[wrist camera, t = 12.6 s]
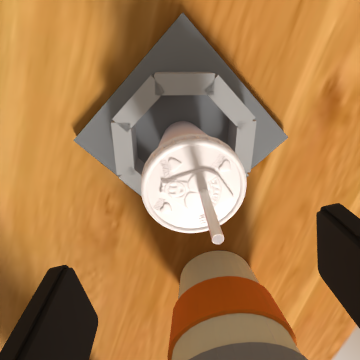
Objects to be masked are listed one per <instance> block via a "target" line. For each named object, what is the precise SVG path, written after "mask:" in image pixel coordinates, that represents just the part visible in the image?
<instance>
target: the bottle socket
mask: <svg viewBox="0 0 360 360" xmlns="http://www.w3.org/2000/svg"><path fill="white" fill-rule="evenodd" d="M178 121H187V122H190V123H192V124H194V125H195V126H197V127H198V128H199V129H200V130H202V131H203V132H204V133H205V134H207V135H208V136H211V137H215V138H218V139H219V140H221V141H222V142H224V143H225V144H227V145H229V146H230V148H231V149H232V150H233V151H234V152H235V153H236V154H237V156H238V158H239V160H240V162H241V164H242V165H243V168H244V170H245V174H246V177H248V176H249V175H248V173H247V172H251V169H252V168H253V167H254V166H256V165H257V164H258V163H259V162H260V161H261V160H263V159H264V158H265V157H266V156H267V155H268V154H269V153H271V152H272V151H273V150H274V149H275V148H276V147H278V146H279V145H280V144H281V143H282V142H283V141H285V140H286V139H287V138H288V136H287V135H286V134H285V133H284V132H283V130H282V129H281V128H280V127H279V126H278V125H277V123H276V122H275V121H274V120H273V119H272V117H271V116H270V115H269V114H268V113H267V112H266V110H265V109H264V108H263V107H262V106H261V104H260V103H259V102H258V101H257V100H256V99H255V97H254V96H253V95H252V94H251V93H250V91H249V90H248V89H247V88H246V87H245V86H244V84H243V83H242V82H241V81H240V80H239V78H238V77H237V76H236V75H235V74H234V72H233V71H232V70H231V69H230V68H229V67H228V65H227V64H226V63H225V62H224V61H223V59H222V58H221V57H220V56H219V55H218V54H217V52H216V51H215V50H214V49H213V48H212V46H211V45H210V44H209V43H208V42H207V41H206V39H205V38H204V37H203V36H202V35H201V33H200V32H199V31H198V30H197V29H196V27H195V26H194V25H193V24H192V23H191V22H190V20H189V19H188V18H187V17H186V16H185V14H184V13H182V14H181V15H180V16H179V17H178V18H177V20H176V21H175V22H174V23H173V24H172V25H171V27H170V28H169V29H168V30H167V31H166V33H165V34H164V35H163V36H162V37H161V38H160V40H159V41H158V42H157V43H156V44H155V45H154V47H153V48H152V49H151V50H150V51H149V52H148V54H147V55H146V56H145V57H144V58H143V59H142V61H141V62H140V63H139V64H138V65H137V67H136V68H135V69H134V70H133V71H132V72H131V74H130V75H129V76H128V77H127V78H126V79H125V81H124V82H123V83H122V84H121V85H120V86H119V88H118V89H117V90H116V91H115V92H114V93H113V95H112V96H111V97H110V98H109V99H108V101H107V102H106V103H105V104H104V105H103V106H102V108H101V109H100V110H99V111H98V112H97V113H96V115H95V116H94V117H93V118H92V119H91V120H90V122H89V123H88V124H87V125H86V126H85V128H84V129H83V130H82V131H81V132H80V133H79V135H78V136H77V137H76V138H75V139H74V141H75V142H76V143H77V144H79V145H80V146H81V147H82V148H84V149H85V150H86V151H87V152H88V153H90V154H91V155H92V156H93V157H95V158H96V159H97V160H98V161H100V162H101V163H102V164H103V165H105V166H106V167H107V168H108V169H110V170H111V171H112V172H113V173H114V174H116V175H117V176H118V177H119V179H120V180H122V181H123V182H124V183H125V184H127V185H128V186H129V187H130V188H132V189H133V190H134V191H135V192H137V193H138V194H139V195H140V196H142V195H141V175H142V171H143V168H144V165H145V163H146V161H147V160H148V158H149V157H150V155H151V153H153V152H154V151H155V150H156V149H157V148H158V146H159V143H160V141H161V139H162V136H163V134H164V132H165V130H166V129H167V128H168V127H169V126H170V125H171V124H173V123H175V122H178Z"/></svg>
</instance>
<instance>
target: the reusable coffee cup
mask: <svg viewBox="0 0 360 360" xmlns="http://www.w3.org/2000/svg"><path fill="white" fill-rule="evenodd" d="M168 360H308V359H307V358H306V357H305V356H303V355H302V354H301V353H300V351H299V350H298V348H297V343H296V337H295V335H294V333H293V331H292V329H291V327H290V325H289V324H288V322H287V321H286V319H285V317H284V316H283V314H282V312H281V311H280V309H279V308H278V306H277V304H276V303H275V301H274V299H273V298H272V296H271V294H270V293H269V292H268V291H267V290H266V288H265V287H263V286H262V285H260V284H259V282H258V280H257V279H256V277H255V275H254V274H253V272H252V270H251V268H250V267H249V265H248V263H247V262H246V261H245V260H244V259H243V258H242V257H240V256H239V255H237V254H235V253H232V252H228V251H210V252H206V253H203V254H200V255H198V256H196V257H195V258H193V259H192V260H190V261H189V262H188V263H187V264H186V266H185V267H184V269H183V271H182V273H181V278H180V286H179V296H178V301H177V302H176V304H175V307H174V309H173V316H172V325H171V333H170V341H169V350H168Z"/></svg>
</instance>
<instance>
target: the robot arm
mask: <svg viewBox="0 0 360 360" xmlns="http://www.w3.org/2000/svg"><path fill="white" fill-rule="evenodd" d="M317 253H318V270H319V273H320V275H321V277H322V279H323V280H324V281H325V283H326V284H327V285H328V287H329V288H330V289H331V291H332V292H333V293H334V295H335V296H336V297H337V299H338V300H339V301H340V303H341V304H342V305H343V307H344V308H345V310H346V311H347V312H348V314H349V315H350V316H351V318H352V319H353V320H354V322H355V323H356V324H357V326H358V327H359V328H360V219H359V218H358V217H357V216H355V215H354V214H353V213H352V212H350V211H349V210H348V209H346V208H345V207H344V206H343V205H341V204H339V203H336V204H332V205H328V206H323V207H321V209H320V211H319V212H317ZM97 327H98V317H97V314H96V312H95V310H94V308H93V306H92V304H91V302H90V300H89V299H88V297H87V295H86V293H85V291H84V289H83V287H82V285H81V283H80V281H79V279H78V277H77V275H76V273H75V271H74V270H73V268H69V267H68V266H67V265H62V266H58V267H53V268H50V269H49V270H48V271H47V273H46V275H45V276H44V278H43V280H42V282H41V283H40V285H39V287H38V288H37V290H36V292H35V294H34V295H33V297H32V299H31V300H30V302H29V304H28V306H27V307H26V309H25V311H24V312H23V314H22V316H21V318H20V319H19V321H18V323H17V325H16V326H15V328H14V330H13V331H12V333H11V335H10V337H9V338H8V340H7V342H6V343H5V345H4V347H3V349H2V350H1V352H0V360H89V357H90V353H91V350H92V346H93V342H94V338H95V334H96V331H97Z"/></svg>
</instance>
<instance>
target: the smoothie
mask: <svg viewBox="0 0 360 360" xmlns="http://www.w3.org/2000/svg"><path fill="white" fill-rule="evenodd" d="M246 186H247V181H246V174H245V170H244V168H243V165H242V164H241V162H240V160H239V158H238V156H237V154H236V153H235V152H234V151H233V150H232V149H231V148H230V146H229V145H227V144H225V143H224V142H222V141H221V140H219V139H218V138H215V137H211V136H208V135H207V134H205V133H204V132H203V131H202V130H200V129H199V128H198V127H197V126H195V125H194V124H192V123H190V122H187V121H178V122H175V123H173V124H171V125H170V126H169V127H168V128H167V129H166V130H165V132H164V134H163V136H162V139H161V141H160V143H159V146H158V148H157V149H156V150H155V151H154V152H153V153H151V155H150V157H149V158H148V160H147V161H146V163H145V165H144V168H143V171H142V175H141V195H142V200H143V203H144V205H145V208H146V209H147V211H148V213H149V214H150V215H151V216H152V218H154V219H155V220H156V221H157V222H158V223H159V224H161V225H162V226H164V227H166V228H168V229H171V230H174V231H177V232H182V233H199V232H204V231H208V230H209V231H210V235H211V239H212V242H213V243H214V244H220V243H222V242H223V241H224V236H223V233H222V230H221V227H220V225H222V224H223V223H225V222H226V221H227V220H229V219H230V218H231V217H232V216H233V215H234V214H235V213H236V211H237V210H238V209H239V207H240V206H241V204H242V202H243V199H244V197H245V193H246Z"/></svg>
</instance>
